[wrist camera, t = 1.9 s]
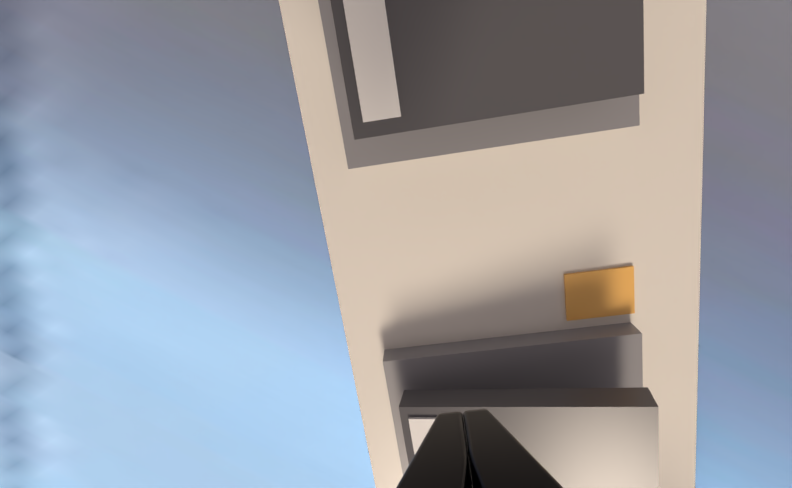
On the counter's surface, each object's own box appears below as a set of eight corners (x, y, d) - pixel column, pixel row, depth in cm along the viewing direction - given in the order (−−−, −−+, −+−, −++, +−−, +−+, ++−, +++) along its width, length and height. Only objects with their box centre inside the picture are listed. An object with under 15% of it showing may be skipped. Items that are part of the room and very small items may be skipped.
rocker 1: (619, -58, 12) (645, -75, 11) (622, 96, 13) (646, 93, 12) (327, -17, 12) (325, -32, 11) (354, 139, 13) (354, 140, 12)
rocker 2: (648, 387, 14) (659, 409, 13) (649, 489, 15) (659, 516, 14) (404, 389, 16) (398, 408, 15) (419, 480, 17) (414, 504, 16)
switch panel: (672, -218, 14) (735, -302, 11) (668, 457, 20) (708, 510, 18) (267, -130, 15) (233, -186, 12) (385, 480, 22) (379, 534, 19)
